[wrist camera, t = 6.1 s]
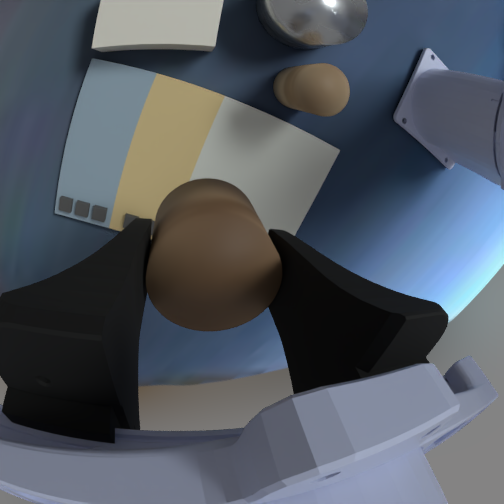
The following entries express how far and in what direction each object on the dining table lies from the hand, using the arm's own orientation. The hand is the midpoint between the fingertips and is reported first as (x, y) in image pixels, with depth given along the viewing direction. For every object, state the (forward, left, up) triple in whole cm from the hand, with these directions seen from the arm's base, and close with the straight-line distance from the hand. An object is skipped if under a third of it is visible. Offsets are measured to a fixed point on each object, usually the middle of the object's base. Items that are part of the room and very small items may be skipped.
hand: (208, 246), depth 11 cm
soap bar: (+6, -9, -10) cm, 15 cm away
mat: (0, 0, -9) cm, 9 cm away
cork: (-4, -8, -9) cm, 13 cm away
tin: (-1, -14, -9) cm, 16 cm away
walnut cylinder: (0, 0, -2) cm, 2 cm away
